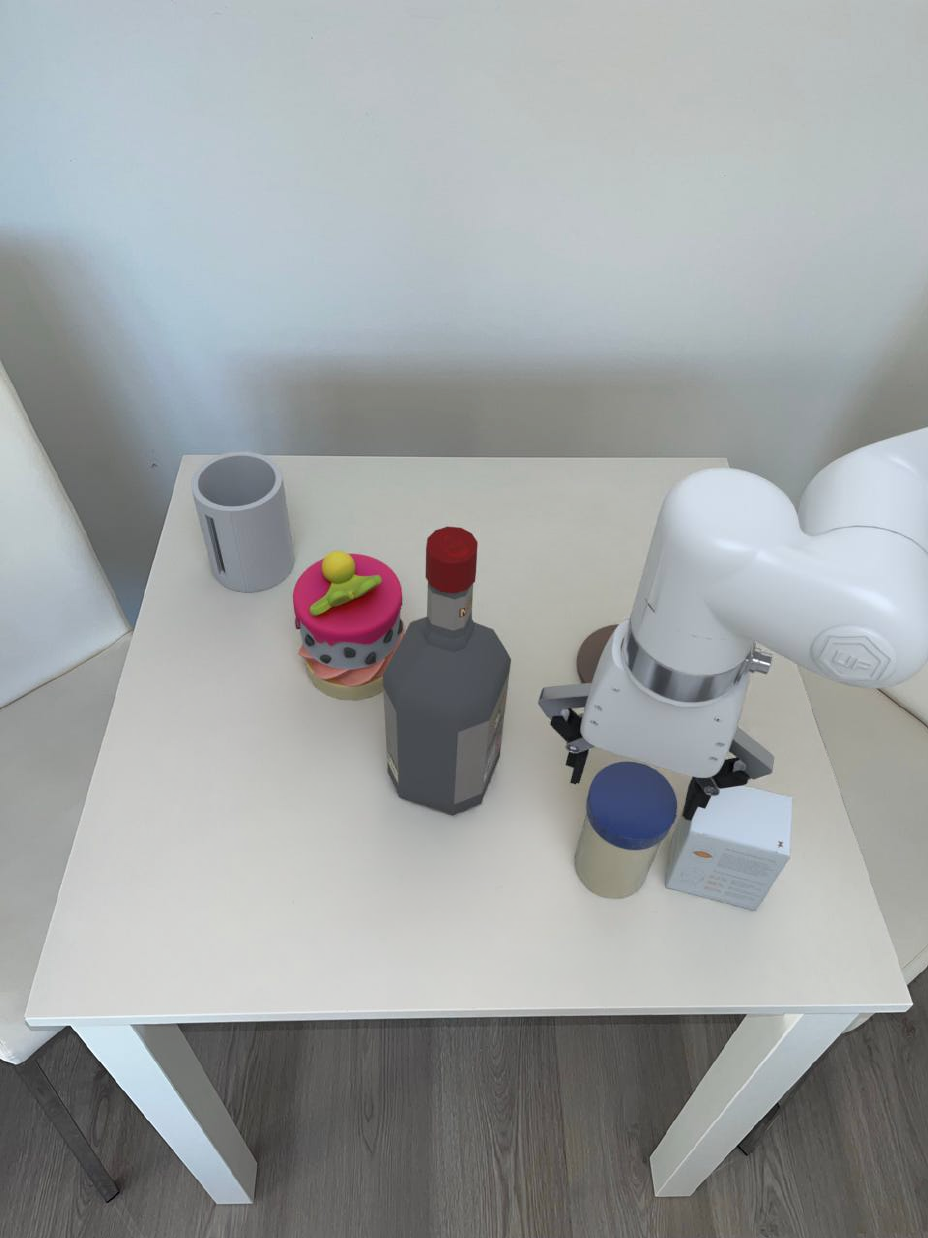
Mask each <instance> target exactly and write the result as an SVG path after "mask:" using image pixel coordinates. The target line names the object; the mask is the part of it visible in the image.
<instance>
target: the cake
mask: <svg viewBox="0 0 928 1238" xmlns="http://www.w3.org/2000/svg"><path fill="white" fill-rule="evenodd" d="M292 603H293V610H294V617H295V619H294V625H295V629H296V630H299V631H300V637H301V642H302V645H301V646H300V648H299V649H298V653H297V655H298V656H300V657H301V658H303V659H304V663H305V669H306V674H307V677H308V678H309V680H310V682H311V683H312V685H313V686H314V687H315V688H316V689H317V690H319V691H320V692H322V693H323V694H325V696H329V697H330V698H331V697H332V698H335V699H338V700H344V701H359V700H364V699H369V698H372V697H374V696H376V695H379V694H381V693H384V689H383V674H384V672H385V670H386V668H387V666H388V664H389V662H390V660H391V659H392V657H393V655H394V653H395V651H396V649H397V647H398V645H399V643H400V641H401V640H402V638H403V636H404V634H405V623H404V621H403V619H402V617H401V610H402V607H403V588H402V584H401V581H400V579H399V577H398V576H397V574H396V573H395V571H394V570H393V569H392V568H391V567H390V566H388V565H387V564H386V563H384V562H383V561H381V560H379V559H378V558H375V557H372V556H370V555H365V554H361V553H348V552H346V551H344V550H333V551H330V552H329V553H327V554H326V556H324V557H323V558H321V559H320V560H317V561H316V562H314V563H312V564H311V565H310V566H309V567H307V568H306V569H305V570H304V571H303V572H302V574H301V575H300V576H299V577H298V579H297V581H296V582H295V585H294V588H293V591H292Z"/></svg>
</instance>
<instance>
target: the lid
mask: <svg viewBox="0 0 928 1238" xmlns="http://www.w3.org/2000/svg"><path fill="white" fill-rule="evenodd" d="M585 811H586V813H587V817H588V819H589V822H590V824H591V826H592V827H593V829H594V830H595V831H596V833H597V834H598V835H599V836H600V837H601V838H603V839H604V840H605V841H607V842H608V843H610V844H612V845H614V846H616V847H619V848H622V849H627V850H643V849H647V848H650V847H653V846H655V845H657V844H658V843H660V842H661V843H662V841H663V840H665V838H667V836H668V834H669V833H670V831H671V829H672V826H673V825H674V823H675V821H676V820H677V819H676V818H677V814H678V799H677V795H676V792H675V790H674V788H673V786H672V785H671V782H669V780H668V779H667V778H666V777H665V776H664V775H663V774H662V773H660V772H659V771H658V770H657V769H655V768H654V767H651V766H649V765H647V764H645V763H643V762H638V761H630V760H629V761H628V760H627V761H617V762H614V763H611V764H609V765H607V766H604V767H603V768H601V769H600V770H599V771H598V772H597V773H596V775H595V776H594V777H593V779H592V781H591V783H590V785H589V789H588V792H587V796H586V801H585ZM661 843H660V844H661Z"/></svg>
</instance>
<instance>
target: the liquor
mask: <svg viewBox="0 0 928 1238" xmlns="http://www.w3.org/2000/svg"><path fill="white" fill-rule="evenodd" d="M426 540H427V541H426V544H425V578H426V581H427V597H426V598H427V600H426V616H425V617H422V618H418V619H416V620H413V621H410V623H409V624H408V626H407V628H406V629H405V631H404V636H403V638H402V640H401V641H400V643H399V645H398V647H397V649H396V651H395V653H394V655H393V657H392V659H391V660H390V662H389V664H388V666H387V668H386V670H385V672H384V674H383V689H384V691H383V705H384V708H383V709H384V726H385V740H386V741H385V745H386V763H387V764H386V765H387V774H388V776H389V778H390V780H391V783H392V784H393V786H394V789H395V791H396V793H397V796H398V797H399V798H401V799H404V800H407V801H410V802H412V803H415V804H418V805H421V806H425V807H427V808H430V809H433V810H435V811H439V812H441V813H445V814H448V815H450V816H455V815H458V814H460V813H462V812H465V811H468V810H470V809H472V808H475V807H478V806H481V805H482V803H483V800H484V797H485V795H486V792H487V790H488V787H489V785H490V782H491V780H492V777H493V775H494V772H495V770H496V767H497V764H498V762H499V760H500V757H501V755H500V754H501V749H502V748H501V747H502V739H503V731H504V723H505V713H506V705H507V699H508V690H509V680H510V674H511V664H512V658H511V657H510V654H509V653H508V650H507V649H506V647H505V646H504V644H503V643H502V641H501V639H500V637H499V636H498V635H497V633H496V631H495V630H494V628H490V627H488V626H485V625H484V624H480V623H478V622H475V621H474V620H473V598H474V597H473V596H474V583H476V577H477V562H478V544H479V542H478V540H477V539H476V537H475V535H474V534H473V533H472V532H470V531H468V530H467V529H464V528H463V527H456V526H444V527H442V528H438V529H435V530H434V531H433V532H432V533H431V534H430V535H429V536H428V537H427V538H426Z"/></svg>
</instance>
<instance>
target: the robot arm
mask: <svg viewBox="0 0 928 1238" xmlns="http://www.w3.org/2000/svg"><path fill="white" fill-rule="evenodd" d="M798 506H799V507H798V510H796V508H795V505H794V504H793V502H792V501H791V499H790V497H789V496H788V495H787V494H786V493H785V492H784V491H783V490H782V489H781V488H779V487H778V486H777V485H776V484H775V483H773V482H771V481H769V480H768V479H766V478H764V477H762V476H760V475H758V474H756V473H753V472H750V471H747V470H743V469H738V468H732V467H731V468H730V467H710V468H704V469H701V470H700V469H699V470H696V471H694V472H692V473H690V474H688V475H686V476H684V477H683V478H681V479H679V480H678V481H677V482H676V483H675V484H674V486H672V487H671V488H670V490H668V493H667V494H666V496H665V498H664V499H663V501H662V504H661V507H660V510H659V512H658V515H657V519H656V523H655V526H654V529H653V534H652V537H651V539H650V544H649V548H648V551H647V555H646V559H645V562H644V566H643V569H642V573H641V575H640V581H639V584H638V587H637V591H636V595H635V598H634V601H633V605H632V609H631V612H630V615H629V618H627V619H625V620H623V621H621V622H620V623H618V624H619V625H618V626H617V628H616V629H615V631H614V632H613V634H612V635H611V637H610V639H609V640H608V642H607V644H606V646H605V648H604V651H603V653H602V655H601V658H600V660H599V663H598V666H597V669H596V672H595V675H594V678H593V680H592V683H573V684H562V685H553V686H544V687H543V688H542V690H541V692H540V695H539V698H538V700H537V704H538V705H539V707H540V709H541V710H542V712H543V713H544V715H545V717H546V718H549V720H550V723H549V725H550V727H551V728H552V729H553V730H554V731H555V732H556V733H557V734H558V735H559V736H560V737H561V738H562V739H563V740H564V741H565V742H566V743H565V750H566V751H567V752H568V753H567V757H566V762H565V767H570V768H572V773H571V777H570V780H569V781H570V782H569V784H571V785H577V784H578V785H580V783H581V780H582V776H583V773H584V770H585V766H586V763H587V760H588V756H589V753H590V749H593V748H598V749H601V750H604V751H606V752H608V753H609V752H610V753H613V754H616V755H619V756H621V757H625V758H629V759H631V760H634V761H637V762H640V763H643V764H646V765H647V764H648V765H651V766H653V767H658V768H661V769H663V770H667V771H671V772H674V773H677V774H681V775H685V776H688V777H691V779H690V781H689V783H688V787H687V791H686V796H685V800H684V804H683V807H684V809H683V808H682V810H683V814H682V816H683V817H684V819H686V820H689V821H691V820H692V818H693V816H694V814H695V812H696V810H697V808H698V807H701V808H704V809H705V808H706V806H707V804H708V802H709V800H710V798H711V796H717V795H719V793H720V789H723V788H730V787H736V786H742V785H744V786H747V784H748V782H749V780H753V781H754V780H757V779H760V778H763V777H765V776H769V775H772V774H773V769H774V764H775V763H774V762H775V755H774V754H773V753H772V752H770V751H769V750H768V749H766V748H765V747H764V746H763V745H761V743H759V742H757V740H755V739H754V738H753V737H751V736H750V735H749V734H748V733H746V731H744V730H743V729H741V728H740V727H739V723H740V719H741V715H742V711H743V708H744V705H745V700H746V696H747V693H748V690H749V687H750V686H749V685H750V680H751V679H750V678H751V674H755V672H756V673H760V674H764V675H768V673H769V670H770V669H771V665H772V661H773V654H772V653H769V652H766V651H762V648H760V647H757V646H756V645H757V644H759V645H761V646H763V647H765V648H767V649H769V650H770V651H772V652H774V653H776V654H778V655H780V656H781V657H783V658H784V659H787V660H789V661H790V662H792V663H794V664H796V665H798V666H799V667H802V668H804V669H806V670H808V671H809V672H812V673H814V674H816V675H818V676H820V677H822V678H824V679H827V680H829V681H833V682H836V683H839V684H842V685H845V686H849V687H854V688H860V689H870V690H872V689H874V690H875V689H886V688H887V689H888V688H891V687H894V686H898V685H901V684H903V683H905V682H907V681H909V680H911V679H912V678H914V677H915V676H916V675H917V674H918V673H920V671H921V670H922V669H923V668H924V667H925V665H926V664H927V662H928V426H927V427H922V428H919V429H916V430H912V431H908V432H906V433H901V434H898V435H895V436H892V437H889V438H885V439H882V440H879V441H877V442H874V443H871V444H867V445H865V446H862V447H859V448H857V449H855V450H853V451H850V452H849V453H847V454H845V455H842V456H841V457H839V458H836V459H835V460H833V461H832V462H830V463H829V464H827V465H826V466H825V467H823V468H822V469H821V470H820V471H818V473H817V474H816V475H815V476H814V477H812V479H811V480H810V481H809V483H808V484H807V486H806V488H805V490H804V492H803V494H802V495H801V498H800V501H799V504H798ZM582 708H584V709H583V712H581V713H579V714H578V713H577V712H576V711H575V710H574V709H582ZM729 753H731V754H732V755H733V756H734V757H731V758H727V756H728V754H729Z"/></svg>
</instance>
